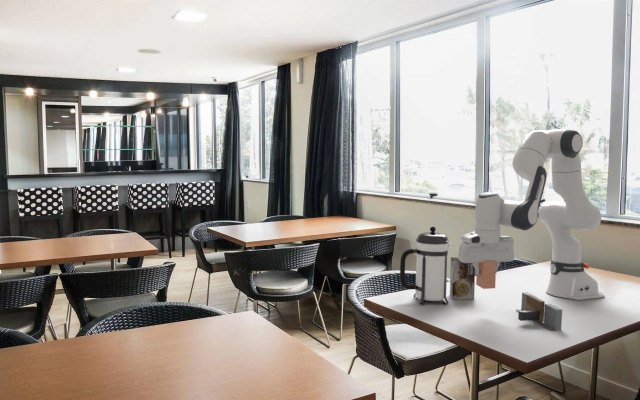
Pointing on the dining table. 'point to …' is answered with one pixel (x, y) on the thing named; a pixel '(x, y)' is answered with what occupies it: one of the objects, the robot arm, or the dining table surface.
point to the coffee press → (429, 266)
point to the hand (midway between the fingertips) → (485, 273)
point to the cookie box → (461, 279)
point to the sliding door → (533, 309)
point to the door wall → (546, 315)
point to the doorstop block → (486, 275)
